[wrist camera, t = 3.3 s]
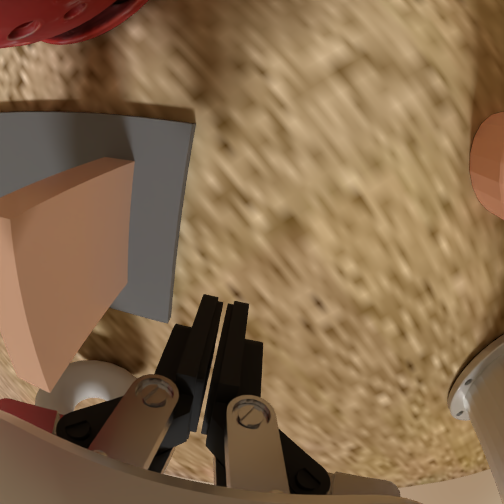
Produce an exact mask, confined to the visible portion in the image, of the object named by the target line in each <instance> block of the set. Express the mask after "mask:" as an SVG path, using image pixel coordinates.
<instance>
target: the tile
mask: <svg viewBox="0 0 504 504" xmlns="http://www.w3.org/2000/svg"><path fill="white" fill-rule="evenodd" d="M134 164H135V161H130V160H123V159H116V158H109V157H103V158H100V159H97V160H94V161H91V162H88V163H85V164H82V165H80V166H77V167H74V168H71V169H68V170H66V171H63V172H60V173H58V174H55V175H52V176H50V177H47V178H45V179H42V180H40V181H37V182H35V183H32V184H30V185H28V186H25V187H23V188H21V189H18V190H16V191H14V192H12V193H9V194H7V195H5V196H3V197H1V198H0V331H1V334H2V337H3V340H4V343H5V346H6V349H7V351H8V354H9V357H10V359H11V362H12V365H13V367H14V370H15V372H16V374H17V377H19V378H20V379H22V380H24V381H26V382H28V383H30V384H32V385H34V386H36V387H38V388H40V389H42V390H44V391H46V392H49V393H51V391H52V389H53V388H54V386H55V385H56V383H57V382H58V380H59V379H60V377H61V376H62V374H63V373H64V371H65V369H66V368H67V366H68V365H69V363H70V362H71V361H72V359H73V358H74V356H75V355H76V353H77V352H78V350H79V349H80V347H81V346H82V344H83V343H84V342H85V340H86V339H87V337H88V336H89V334H90V333H91V332H92V330H93V329H94V327H95V326H96V325H97V323H98V322H99V320H100V319H101V318H102V316H103V315H104V314H105V312H106V311H107V310H108V308H109V307H110V305H111V304H112V303H113V301H114V300H115V299H116V297H117V296H118V295H119V293H120V292H121V291H122V290H123V288H124V287H125V286H126V284H127V283H128V241H129V222H130V207H131V194H132V183H133V173H134Z"/></svg>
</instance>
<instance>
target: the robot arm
mask: <svg viewBox="0 0 504 504" xmlns="http://www.w3.org/2000/svg"><path fill="white" fill-rule="evenodd" d="M222 307H223V302H219V301H218V297H214V296H210V295H205V294H204V295H203V297H202V300H201V303H200V306H199V309H198V312H197V314H196V317H195V320H194V323H193V326H192V327H188V326H183V325H179V324H175V326H174V328H173V330H172V332H171V335H170V337H169V340H168V342H167V344H166V347H165V349H164V352H163V354H162V357H161V359H160V361H159V364H158V366H157V369H156V371H155V374H148V375H144V376H141V377H139V378H137V379H136V380H135V381H134V382H133V383H132V384H131V386H130V387H129V389H128V390H127V392H126V393H125V395H124V396H121V397H118V398H115V399H112V400H109V401H106V402H102V403H99V404H96V405H93V406H90V407H86V408H83V409H80V410H76V411H73V412H70V413H68V414H65V415H62V414H59V413H58V411H56V410H52V409H47V408H43V407H39V406H35V405H31V404H27V403H24V402H20V401H16V400H13V399H7V398H4V399H0V504H422V503H419V502H417V501H414V500H410V499H407V498H402V497H400V491H399V490H398V488H397V486H396V485H394V484H393V483H392V482H389V481H386V480H380V479H374V478H367V477H362V476H356V475H351V474H346V473H341V472H335V473H334V474H333V473H328V472H327V471H326V470H325V469H324V468H323V467H322V466H321V465H320V464H318V463H317V462H316V461H315V460H314V459H312V458H311V457H310V456H309V455H308V454H307V453H305V452H304V451H303V450H302V449H301V448H300V447H299V446H297V445H296V444H295V443H294V442H293V441H292V440H291V439H290V438H288V437H287V436H286V435H285V434H284V433H283V432H282V431H281V430H280V429H279V428H278V424H277V418H276V413H275V411H274V408H273V407H272V406H271V405H270V403H268V402H267V401H266V400H264V399H262V398H260V397H261V378H262V358H263V342H258V341H253V340H248V339H245V333H246V325H247V317H248V309H249V304H247V303H242V302H238V301H234V305H233V304H228V305H227V310H226V314H225V319H224V323H223V328H222V332H221V337H220V341H219V346H218V351H217V355H216V360H215V364H214V369H213V374H212V378H211V383H210V389H209V394H208V399H207V404H206V410H205V415H204V421H203V426H202V431H201V434H206V435H207V439H206V446H207V448H208V449H209V450H210V451H211V452H212V453H213V454H214V458H213V464H214V485H210V484H205V483H200V482H194V481H190V480H185V479H181V478H177V477H173V476H169V475H165V474H164V472H165V470H166V468H167V466H168V464H169V461H170V459H171V457H172V455H173V453H174V451H175V447H176V446H177V445H179V444H182V443H184V442H186V441H187V439H188V438H189V434H190V431H192V432H196V431H197V426H198V422H199V417H200V413H201V408H202V404H203V399H204V395H205V390H206V386H207V381H208V377H209V372H210V368H211V364H212V359H213V354H214V349H215V343H216V338H217V333H218V327H219V322H220V317H221V312H222ZM448 408H449V410H450V412H451V415H452V416H453V417H454V418H456V419H458V420H470V421H471V423H472V425H473V427H474V430H475V432H476V434H477V437H478V439H479V441H480V444H481V446H482V449H483V451H484V453H485V456H486V459H487V461H488V464H489V466H490V469H491V472H492V474H493V477H494V480H495V483H496V485H497V488H498V491H499V494H500V497H501V500H502V503H503V504H504V335H502V336H501V337H499V338H498V339H496V340H495V341H493V342H492V343H491V344H489V345H488V346H487V347H486V348H485V349H483V350H482V351H481V352H480V353H479V354H478V355H477V356H476V357H475V358H474V359H473V360H472V361H471V362H470V363H469V364H468V365H467V366H466V368H465V369H464V370H463V371H462V373H461V374H460V375H459V377H458V378H457V380H456V382H455V383H454V385H453V387H452V389H451V391H450V394H449V397H448Z"/></svg>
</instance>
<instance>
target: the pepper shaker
mask: <svg viewBox="0 0 504 504" xmlns="http://www.w3.org/2000/svg"><path fill="white" fill-rule="evenodd" d="M470 175H471V181H472V186H473V189H474V191H475V193H476V196H477V198H478V200H479V202H480V203H481V204H482V205H483V206H484V207H485V208H486V209H487V210H488V211H489V212H491V213H493V214H494V215H496V216H498V217H499V218H501V219H503V220H504V112H500V113H496V114H493V115H491V116H489V117H488V118H487V119H486V120H485V121H484V122H483V123H482V124H481V126H480V127H479V129H478V131H477V133H476V135H475V136H474V140H473V144H472V148H471V152H470Z"/></svg>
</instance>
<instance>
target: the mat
mask: <svg viewBox="0 0 504 504" xmlns="http://www.w3.org/2000/svg"><path fill="white" fill-rule="evenodd" d="M195 126H196V124H194V123H187V122H180V121H172V120H165V119H156V118H148V117H138V116H128V115H116V114H102V113H85V112H54V111H26V112H0V198H1V197H3V196H5V195H7V194H9V193H12V192H14V191H16V190H18V189H21V188H23V187H25V186H28V185H30V184H32V183H35V182H37V181H40V180H42V179H45V178H47V177H50V176H52V175H55V174H58V173H60V172H63V171H66V170H68V169H71V168H74V167H77V166H80V165H82V164H85V163H88V162H91V161H94V160H97V159H100V158H103V157H109V158H116V159H123V160H130V161H135V164H134V173H133V183H132V194H131V207H130V222H129V241H128V283H127V284H126V286H125V287H124V288H123V290H122V291H121V292H120V293H119V295H118V296H117V297H116V299H115V300H114V301H113V303H112V304H111V305H110V308H113V309H116V310H120V311H123V312H127V313H130V314H134V315H138V316H141V317H145V318H149V319H152V320H156V321H160V322H164V323H168V322H169V320H170V318H171V309H172V297H173V286H174V275H175V265H176V256H177V247H178V238H179V230H180V222H181V215H182V207H183V200H184V193H185V186H186V180H187V173H188V167H189V161H190V155H191V149H192V143H193V137H194V132H195Z"/></svg>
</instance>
